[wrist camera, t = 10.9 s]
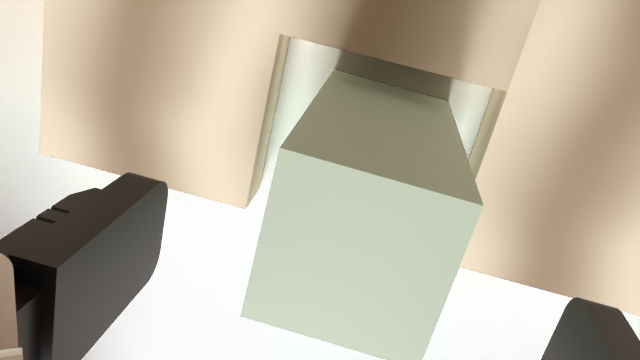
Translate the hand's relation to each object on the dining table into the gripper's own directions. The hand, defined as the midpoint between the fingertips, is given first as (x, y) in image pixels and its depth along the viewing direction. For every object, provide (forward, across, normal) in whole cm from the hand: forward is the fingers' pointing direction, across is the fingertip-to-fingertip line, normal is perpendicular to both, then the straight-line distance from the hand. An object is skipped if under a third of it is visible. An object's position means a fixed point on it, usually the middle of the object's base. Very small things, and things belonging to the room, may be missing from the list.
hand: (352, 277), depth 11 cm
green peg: (+10, 0, 0) cm, 10 cm away
